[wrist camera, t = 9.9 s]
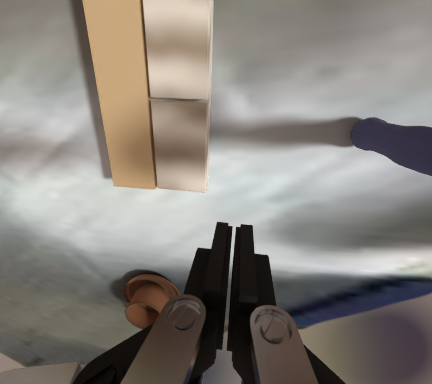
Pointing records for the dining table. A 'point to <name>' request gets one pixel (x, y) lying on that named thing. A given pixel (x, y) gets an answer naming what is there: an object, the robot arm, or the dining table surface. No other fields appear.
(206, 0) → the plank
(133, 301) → the cup and saucer
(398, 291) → the dining table surface
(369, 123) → the rubber mallet
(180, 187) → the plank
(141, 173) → the floor board
